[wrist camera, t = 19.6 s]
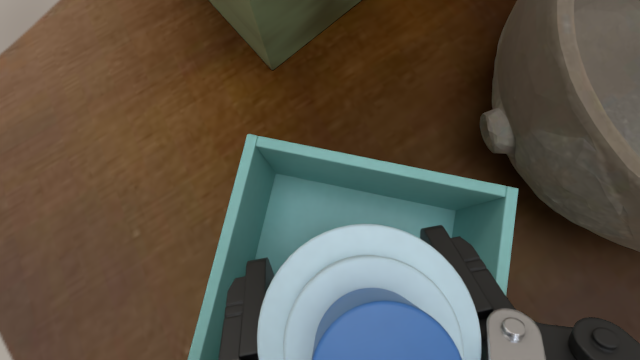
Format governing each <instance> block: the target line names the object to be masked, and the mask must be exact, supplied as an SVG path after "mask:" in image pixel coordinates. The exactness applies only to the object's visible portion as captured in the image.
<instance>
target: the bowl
mask: <svg viewBox="0 0 640 360" xmlns="http://www.w3.org/2000/svg"><path fill="white" fill-rule="evenodd" d="M492 108H493V110H490V111H488V112H485V113H483V114H482V115H481V117H480V130H481V134H482V137H483V140H484V142H485V144H486V145H487V147H488V148H489V150H490V151H492V152H493V153H504V154H507V156H508V158H509V159H510V161H511V163H512V165H513V167H514V168H515V169H516V171H517V172H518V174H519V175H520V176H521V177H522V178H523V180H524V181H525V182H526V183H527V184H528V185H529V187H530V188H531V189H532V190H533V192H534V193H535V195H536V196H537V197H538V198H539V199H541V200H542V201H543V202H544V203H545V204H547V205H548V206H549V207H550V208H551V209H553V210H554V211H555V212H557V213H559V214H560V215H562V216H563V217H565V218H566V219H568V220H569V221H571V222H573V223H575V224H577V225H579V226H581V227H583V228H585V229H587V230H589V231H591V232H593V233H595V234H597V235H599V236H601V237H603V238H605V239H607V240H610V241H612V242H614V243H617V244H619V245H622V246H625V247H628V248H630V249H633V250H636V251H639V252H640V0H517V2H516V4H515V5H514V7H513V9H512V12H511V14H510V15H509V17H508V19H507V21H506V24H505V26H504V28H503V30H502V33H501V36H500V39H499V42H498V47H497V54H496V58H495V61H494V76H493V82H492Z"/></svg>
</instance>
